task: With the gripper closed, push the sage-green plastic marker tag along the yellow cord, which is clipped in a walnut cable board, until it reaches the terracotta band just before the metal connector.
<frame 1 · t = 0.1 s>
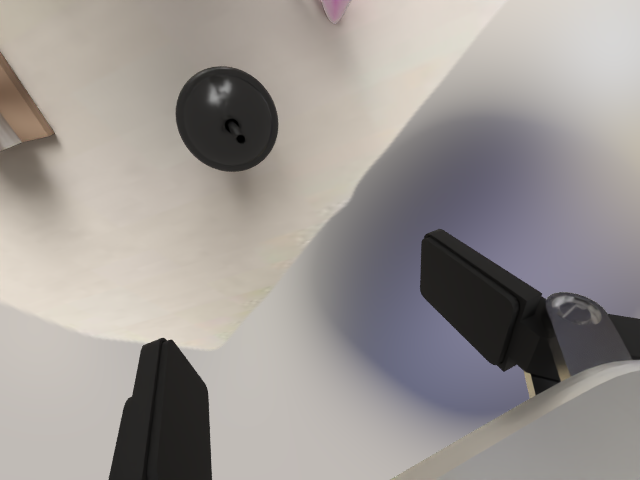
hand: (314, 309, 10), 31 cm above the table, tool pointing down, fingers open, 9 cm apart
drinking cup: (218, 106, 33), on the table
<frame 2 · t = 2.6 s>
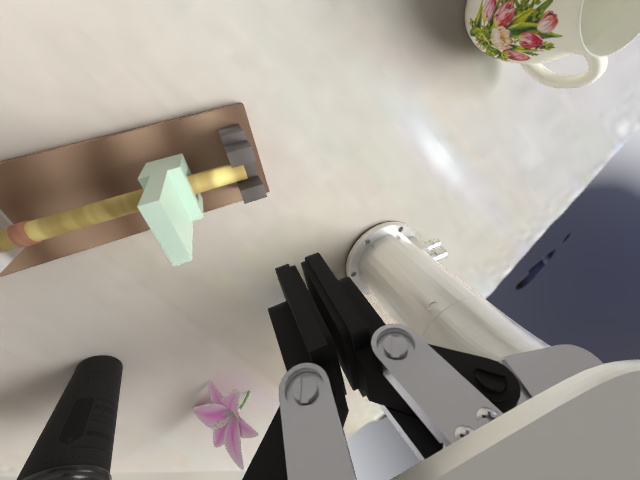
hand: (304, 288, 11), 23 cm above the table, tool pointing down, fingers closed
marker tag: (172, 203, 21), point 9 cm above the table, slide at 0.0 cm
lily: (224, 391, 47), on the table
drinking cup: (100, 367, 37), on the table
cable board: (125, 184, 28), on the table
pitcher: (489, 16, 33), on the table
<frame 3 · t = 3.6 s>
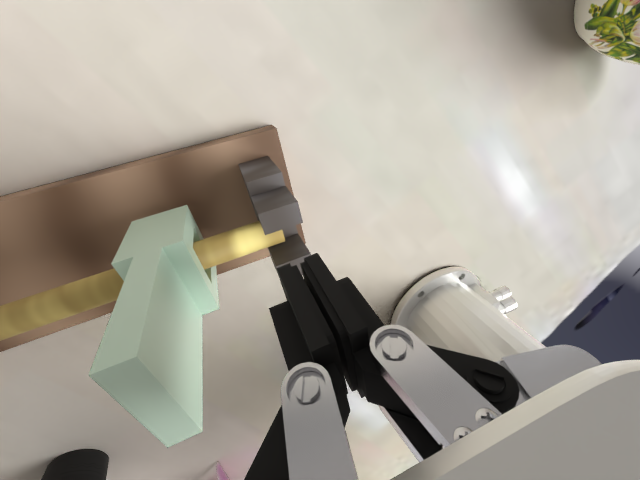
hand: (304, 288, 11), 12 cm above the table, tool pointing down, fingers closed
marker tag: (169, 299, 13), point 9 cm above the table, slide at 0.0 cm
lily: (235, 468, 38), on the table
drinking cup: (79, 462, 28), on the table
cable board: (106, 242, 19), on the table
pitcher: (604, 3, 24), on the table
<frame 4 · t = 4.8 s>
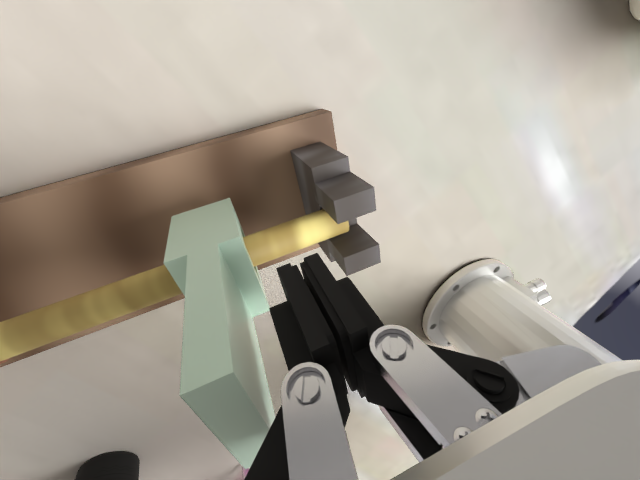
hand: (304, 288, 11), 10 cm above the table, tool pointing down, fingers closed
marker tag: (224, 301, 12), point 9 cm above the table, slide at 0.7 cm, touching gripper
lily: (260, 468, 38), on the table
drinking cup: (109, 464, 27), on the table
cable board: (147, 235, 18), on the table
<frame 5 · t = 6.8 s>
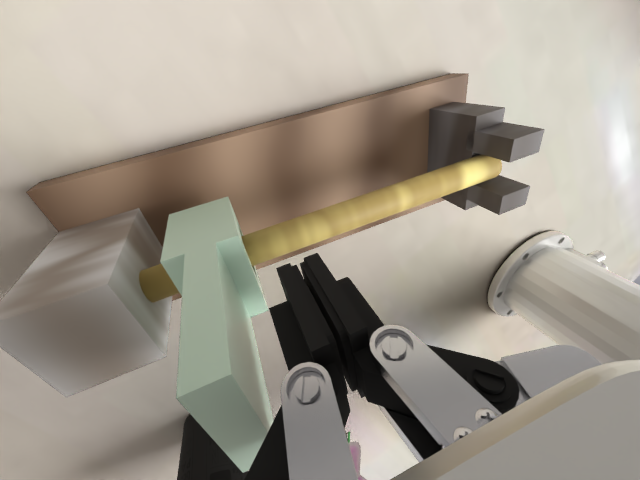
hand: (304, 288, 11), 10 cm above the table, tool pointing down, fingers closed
marker tag: (222, 301, 12), point 9 cm above the table, slide at 10.7 cm, touching gripper
lily: (323, 434, 39), on the table
drinking cup: (210, 417, 29), on the table
cable board: (293, 186, 20), on the table
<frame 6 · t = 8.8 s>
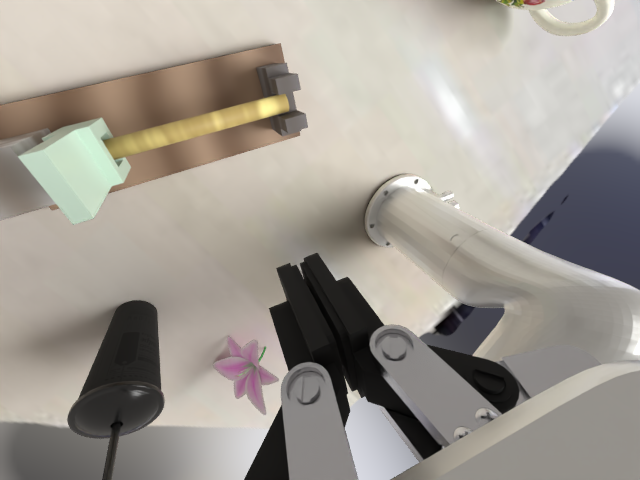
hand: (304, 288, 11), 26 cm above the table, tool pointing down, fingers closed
marker tag: (82, 165, 21), point 9 cm above the table, slide at 10.7 cm
lily: (242, 346, 49), on the table
drinking cup: (136, 313, 38), on the table
cable board: (167, 123, 29), on the table
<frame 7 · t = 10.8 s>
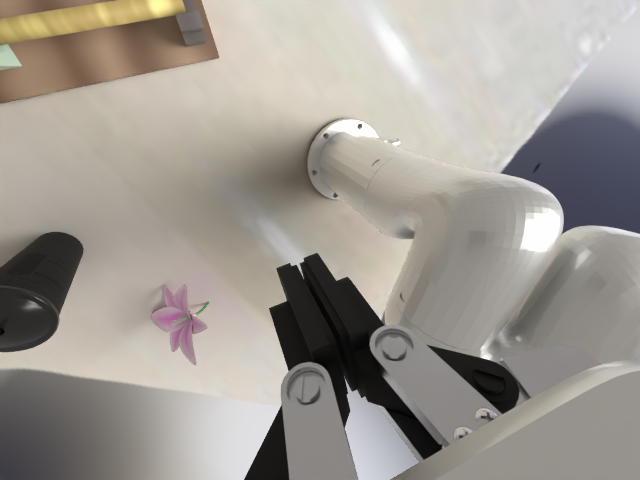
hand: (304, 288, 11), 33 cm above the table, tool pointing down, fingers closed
lily: (182, 300, 48), on the table
drinking cup: (60, 247, 38), on the table
cable board: (72, 32, 29), on the table
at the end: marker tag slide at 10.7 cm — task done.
